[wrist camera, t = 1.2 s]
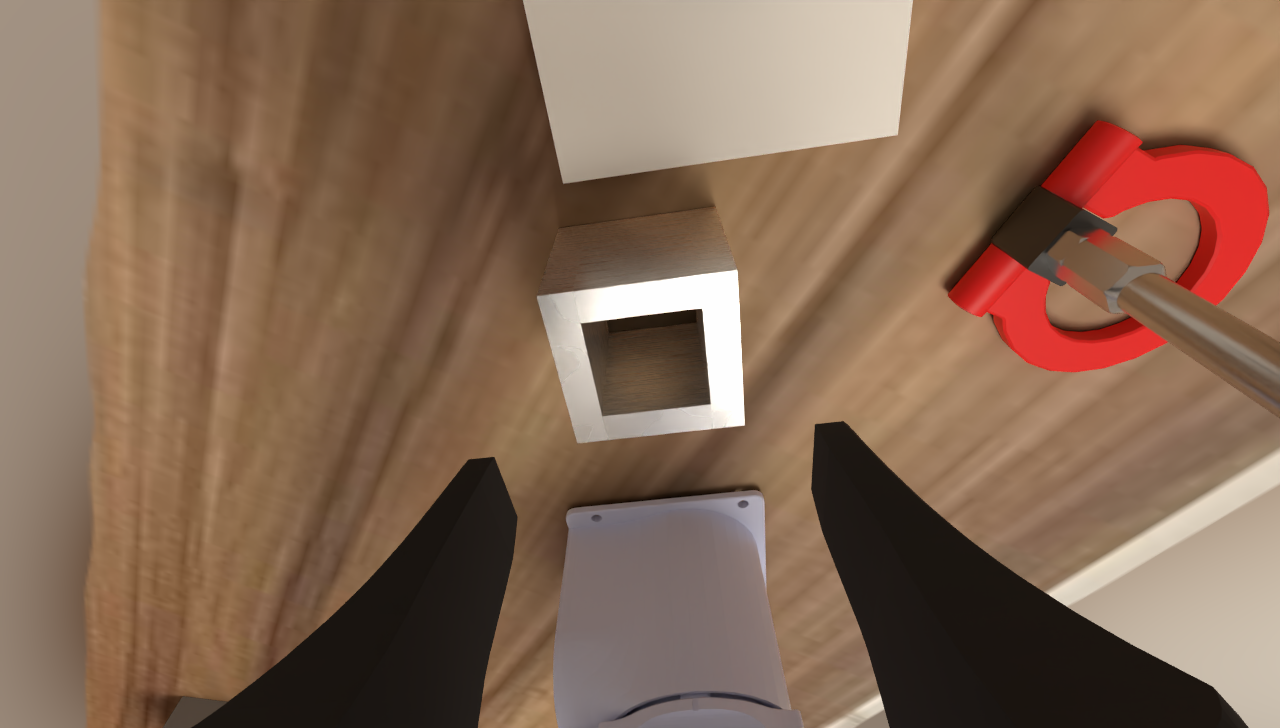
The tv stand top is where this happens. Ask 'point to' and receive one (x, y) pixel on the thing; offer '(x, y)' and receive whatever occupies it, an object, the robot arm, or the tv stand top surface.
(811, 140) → the plate
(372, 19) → the tv stand top surface
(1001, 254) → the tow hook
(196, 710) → the dice cube
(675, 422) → the hollow square tube
